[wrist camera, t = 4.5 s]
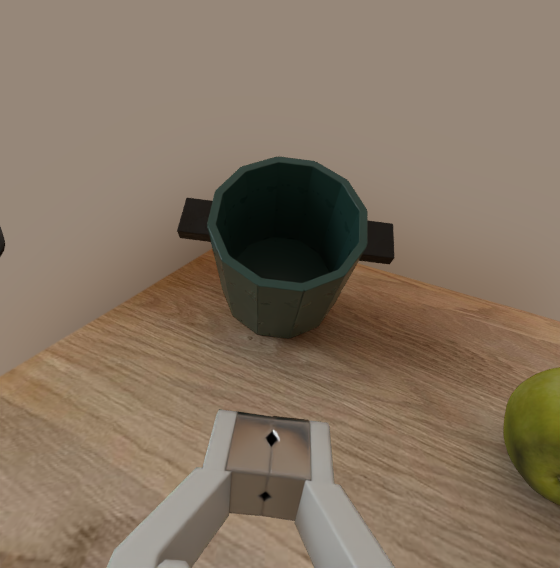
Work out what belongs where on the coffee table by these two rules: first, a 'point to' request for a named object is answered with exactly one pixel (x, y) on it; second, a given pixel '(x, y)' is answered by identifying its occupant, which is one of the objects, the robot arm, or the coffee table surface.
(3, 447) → the coffee table surface
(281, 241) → the pot
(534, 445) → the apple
